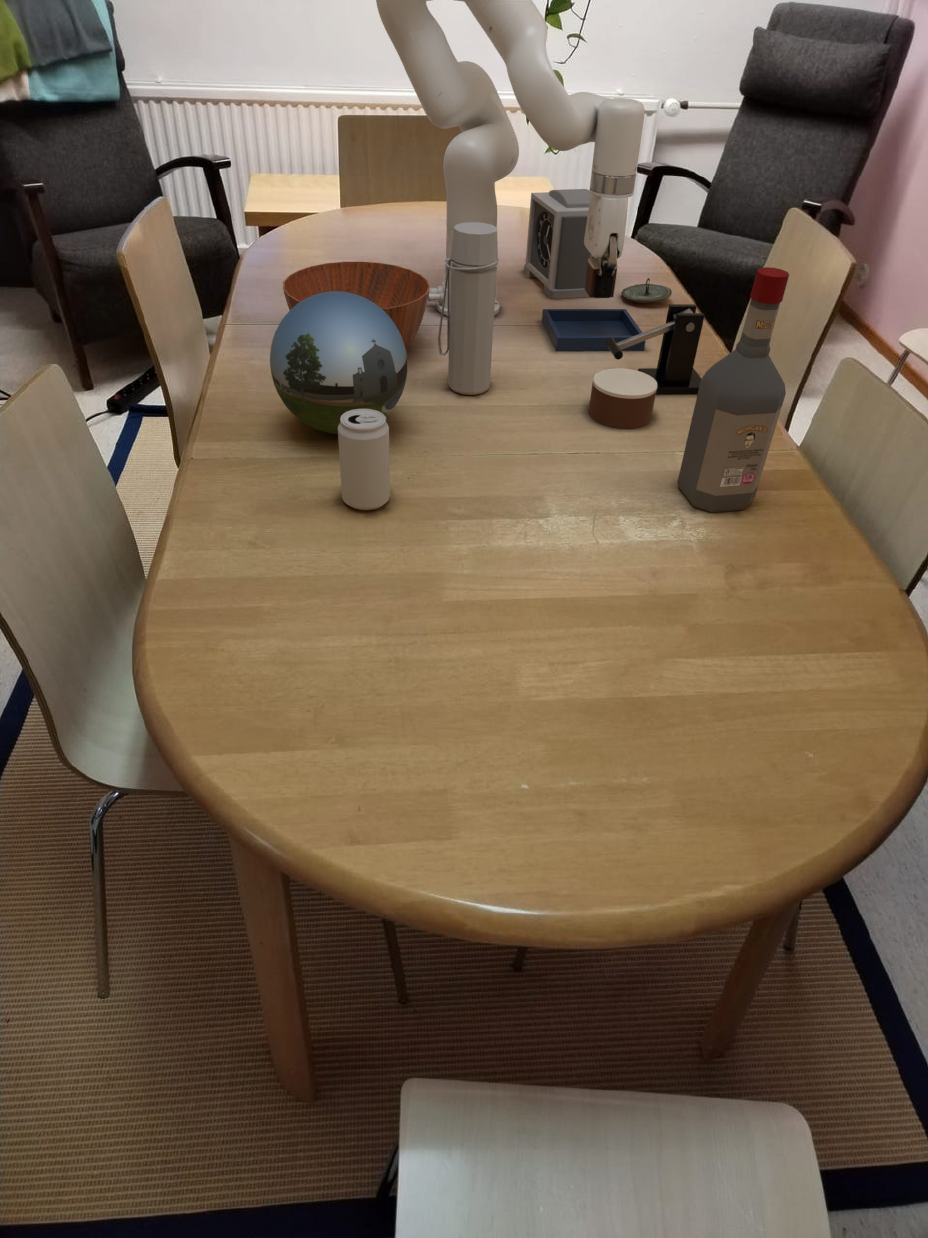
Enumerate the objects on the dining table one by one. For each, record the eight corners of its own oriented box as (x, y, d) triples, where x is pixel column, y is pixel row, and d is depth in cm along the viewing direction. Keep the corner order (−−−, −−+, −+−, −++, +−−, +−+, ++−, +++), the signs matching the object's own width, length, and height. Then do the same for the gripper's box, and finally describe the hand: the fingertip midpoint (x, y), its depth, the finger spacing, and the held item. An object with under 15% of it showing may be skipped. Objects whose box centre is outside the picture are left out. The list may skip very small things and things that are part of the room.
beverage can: (342, 488, 115) (337, 406, 107) (390, 487, 115) (388, 406, 108) (341, 513, 110) (335, 429, 102) (390, 513, 110) (389, 429, 103)
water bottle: (496, 382, 143) (507, 224, 127) (482, 400, 137) (491, 238, 121) (445, 373, 145) (449, 216, 129) (429, 391, 139) (431, 229, 123)
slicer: (649, 394, 141) (664, 318, 133) (636, 374, 148) (650, 300, 139) (707, 393, 143) (724, 318, 134) (691, 374, 149) (708, 300, 140)
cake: (596, 429, 131) (601, 395, 127) (582, 400, 139) (586, 368, 135) (658, 428, 132) (665, 394, 129) (641, 400, 140) (647, 367, 136)
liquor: (759, 509, 115) (829, 283, 95) (697, 515, 113) (755, 286, 94) (729, 476, 121) (789, 258, 102) (670, 480, 120) (719, 260, 101)
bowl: (454, 362, 149) (457, 296, 141) (323, 389, 138) (318, 320, 131) (390, 315, 165) (388, 254, 157) (267, 336, 154) (260, 272, 147)
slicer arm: (616, 363, 138) (612, 350, 137) (607, 349, 143) (604, 336, 141) (699, 330, 136) (697, 317, 135) (688, 317, 141) (685, 303, 139)
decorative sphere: (428, 444, 125) (430, 309, 112) (301, 470, 118) (287, 329, 105) (379, 391, 138) (375, 265, 126) (261, 411, 131) (245, 279, 118)
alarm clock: (522, 270, 189) (529, 180, 177) (576, 267, 192) (587, 179, 180) (551, 299, 175) (560, 203, 164) (609, 295, 179) (623, 201, 167)
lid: (674, 314, 175) (684, 290, 173) (634, 306, 171) (644, 280, 169) (649, 299, 183) (658, 276, 181) (611, 291, 179) (620, 266, 176)
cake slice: (589, 297, 154) (593, 265, 150) (584, 289, 157) (588, 258, 154) (613, 297, 154) (617, 265, 151) (607, 289, 158) (611, 257, 154)
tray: (556, 351, 154) (557, 337, 153) (541, 321, 165) (542, 308, 164) (643, 350, 156) (646, 337, 155) (623, 321, 167) (625, 308, 166)
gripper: (580, 172, 150) (569, 278, 162) (602, 195, 137) (588, 309, 149) (621, 172, 151) (607, 277, 162) (647, 196, 138) (630, 308, 150)
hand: (598, 291), depth 155 cm, fingers closed on cake slice, 4 cm apart
